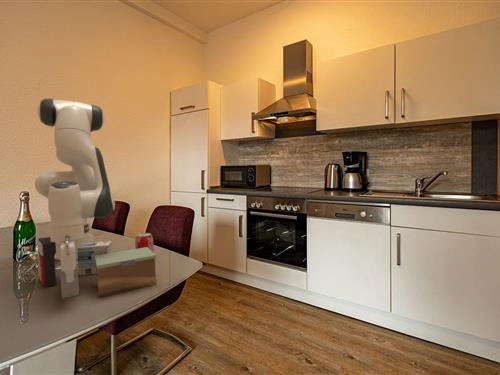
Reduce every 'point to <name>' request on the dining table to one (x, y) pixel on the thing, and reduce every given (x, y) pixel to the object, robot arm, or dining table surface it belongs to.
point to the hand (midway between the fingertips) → (70, 276)
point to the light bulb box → (91, 256)
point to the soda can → (144, 241)
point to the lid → (123, 257)
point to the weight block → (69, 285)
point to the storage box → (125, 277)
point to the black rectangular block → (46, 261)
